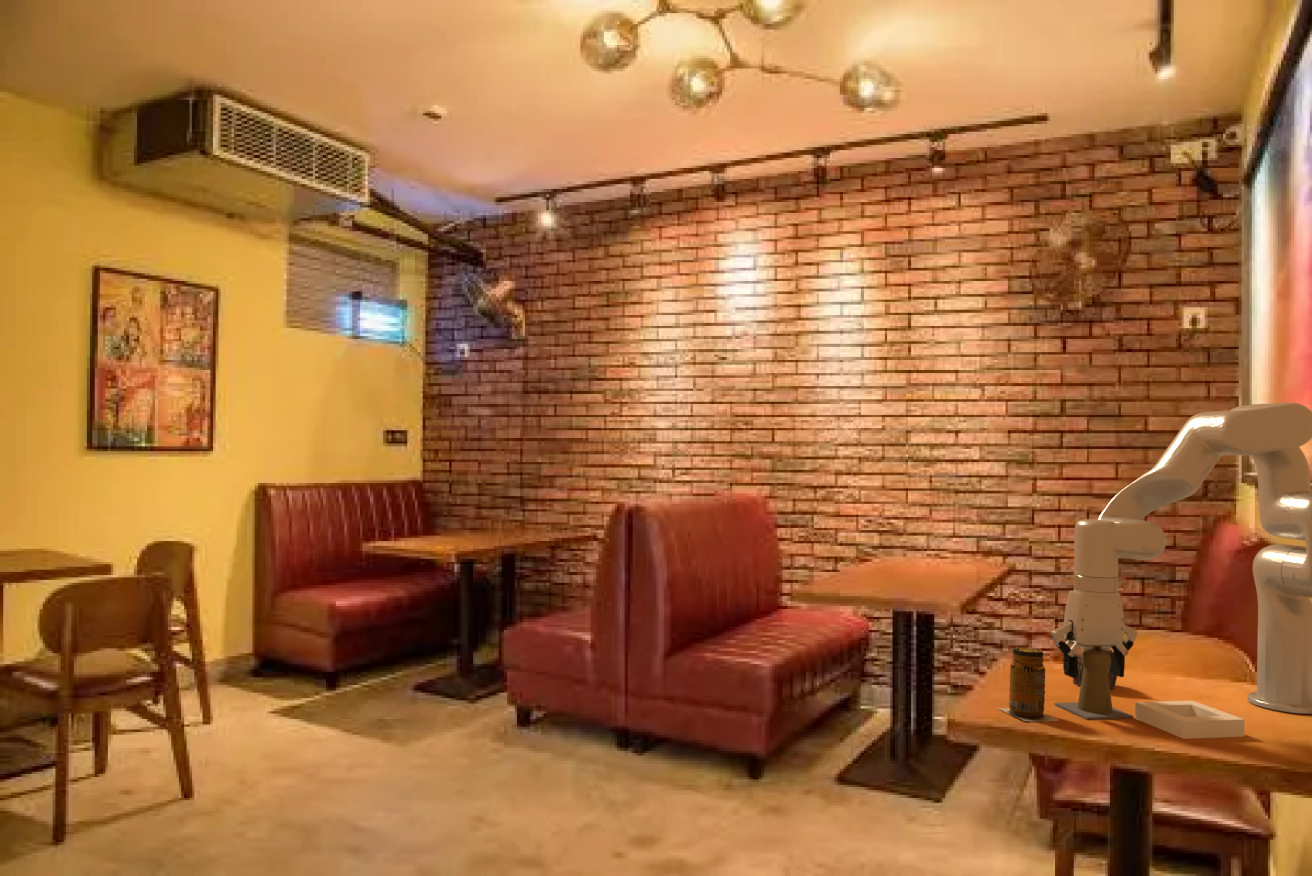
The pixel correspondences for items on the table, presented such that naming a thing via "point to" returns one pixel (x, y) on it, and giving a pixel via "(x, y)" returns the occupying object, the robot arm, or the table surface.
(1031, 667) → the condiment
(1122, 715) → the coaster
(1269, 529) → the robot arm
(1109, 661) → the cork
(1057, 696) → the table surface
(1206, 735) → the holder
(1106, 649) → the cupcake
